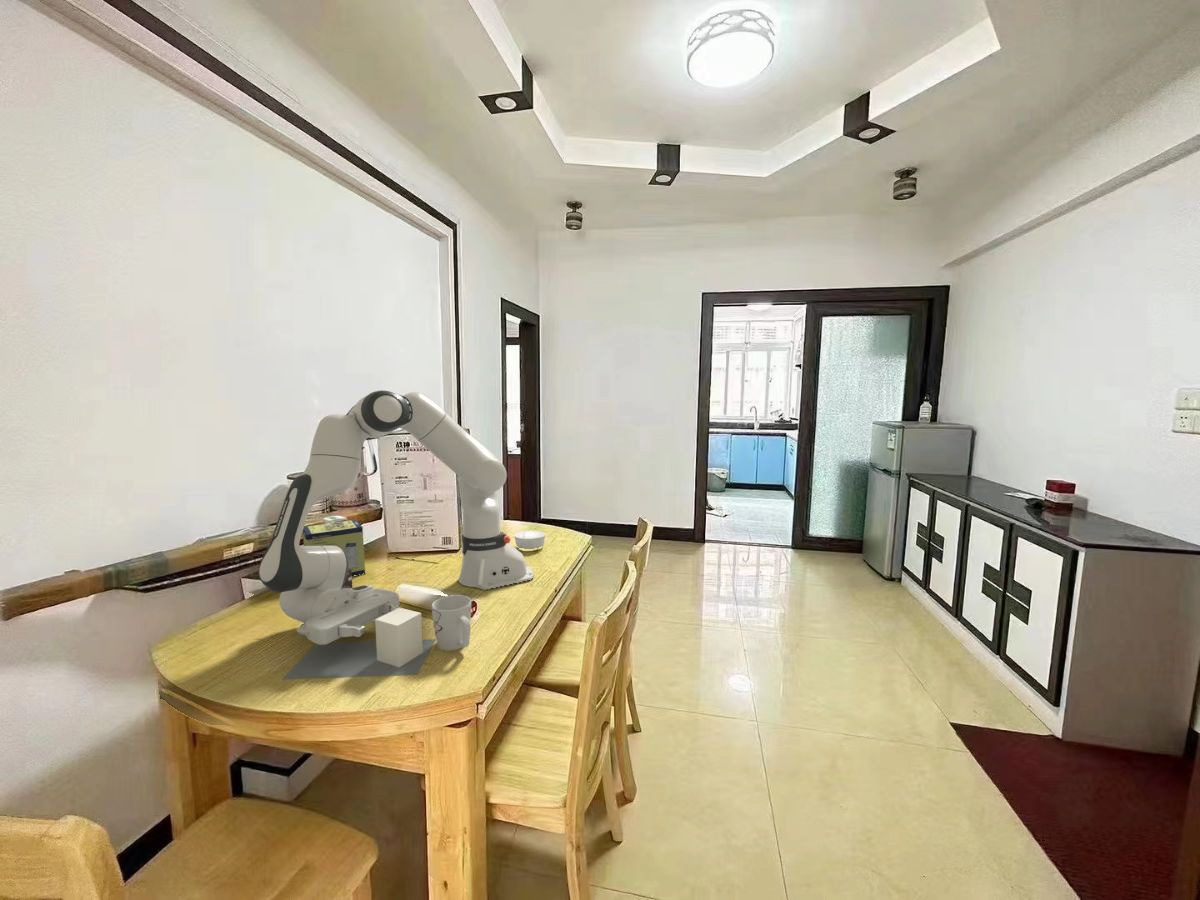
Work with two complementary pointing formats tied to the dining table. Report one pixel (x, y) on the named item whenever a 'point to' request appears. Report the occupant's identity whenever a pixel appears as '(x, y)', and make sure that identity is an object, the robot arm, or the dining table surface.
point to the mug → (452, 621)
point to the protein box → (340, 541)
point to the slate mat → (353, 661)
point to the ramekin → (530, 539)
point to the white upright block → (399, 636)
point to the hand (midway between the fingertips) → (380, 622)
